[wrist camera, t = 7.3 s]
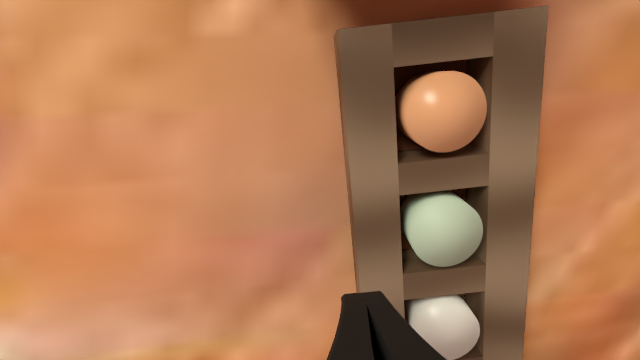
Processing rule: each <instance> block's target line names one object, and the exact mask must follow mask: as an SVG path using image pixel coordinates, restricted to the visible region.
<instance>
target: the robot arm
mask: <svg viewBox="0 0 640 360" xmlns="http://www.w3.org/2000/svg"><path fill="white" fill-rule="evenodd" d="M341 300H342V306H341V314H340V319H339V323H338V327H337V331H336V335H335V338H334V341H333V344H332V347H331V350H330V352H329V355H328V358H327V360H447V359H445V358H444V357H443V356H442V355H441V354H440V353H438V352H437V351H436V350H435V349H434V348H433V347H432V346H431V345H430V344H429V343H428V342H426V341H425V340H424V339H423V338H422V337H421V336H420V335H419V334H418V333H417V332H416V331H415V330H414V329H413V328H412V327H411V326H410V324H409V323H408V322H407V321H406V320H405V319H404V318H403V317H402V316H401V315H400V314H399V312H398V311H397V310H396V309H395V308H394V306H393V305H392V304H391V303H390V302H389V300H388V299H387V298H386V296H385V295H384V294H383V293H382V292H381V291H373V292H362V293H352V294H344V295H343V296H342V297H341Z"/></svg>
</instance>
